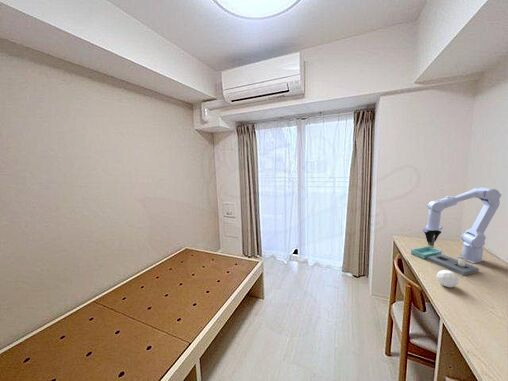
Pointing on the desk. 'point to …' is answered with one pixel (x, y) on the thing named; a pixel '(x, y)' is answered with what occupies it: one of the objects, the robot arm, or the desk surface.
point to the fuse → (461, 261)
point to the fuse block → (452, 264)
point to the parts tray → (425, 252)
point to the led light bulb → (431, 243)
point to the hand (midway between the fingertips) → (431, 241)
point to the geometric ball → (447, 278)
